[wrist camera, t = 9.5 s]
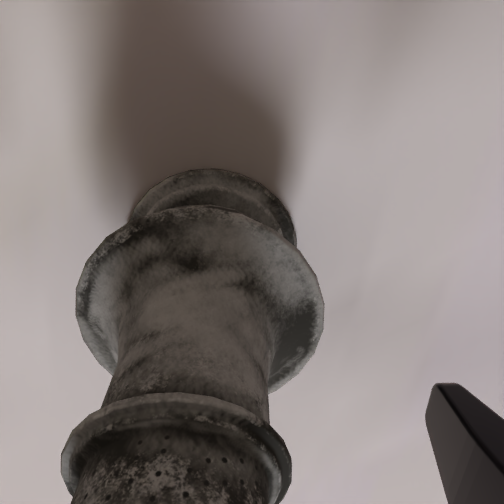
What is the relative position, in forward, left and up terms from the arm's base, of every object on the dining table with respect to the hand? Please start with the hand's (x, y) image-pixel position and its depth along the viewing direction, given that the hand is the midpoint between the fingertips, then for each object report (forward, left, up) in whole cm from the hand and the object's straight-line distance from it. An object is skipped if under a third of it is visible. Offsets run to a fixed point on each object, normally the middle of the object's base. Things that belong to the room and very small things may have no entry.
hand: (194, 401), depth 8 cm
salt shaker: (0, 0, -6) cm, 6 cm away
